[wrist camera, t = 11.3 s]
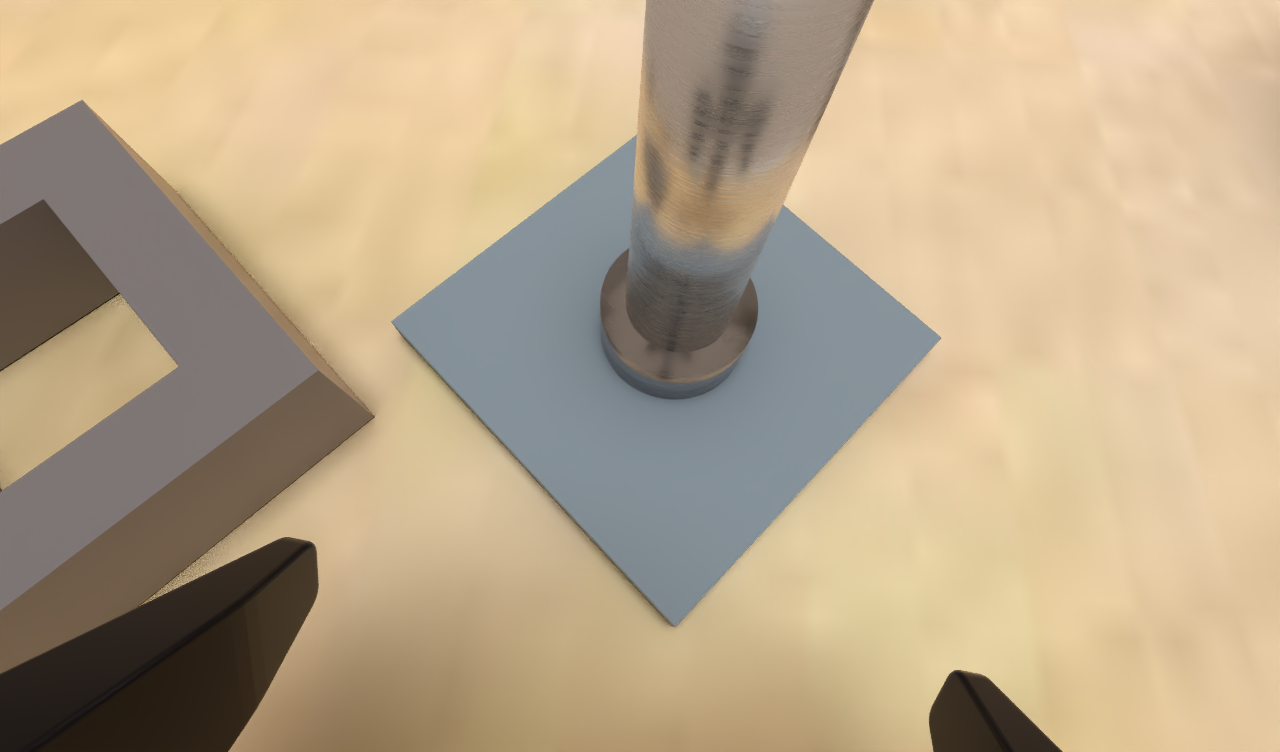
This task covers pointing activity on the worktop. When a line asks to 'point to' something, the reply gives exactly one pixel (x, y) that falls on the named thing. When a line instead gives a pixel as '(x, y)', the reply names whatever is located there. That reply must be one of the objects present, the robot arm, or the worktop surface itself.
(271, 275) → the worktop surface
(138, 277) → the socket block
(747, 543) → the mat
